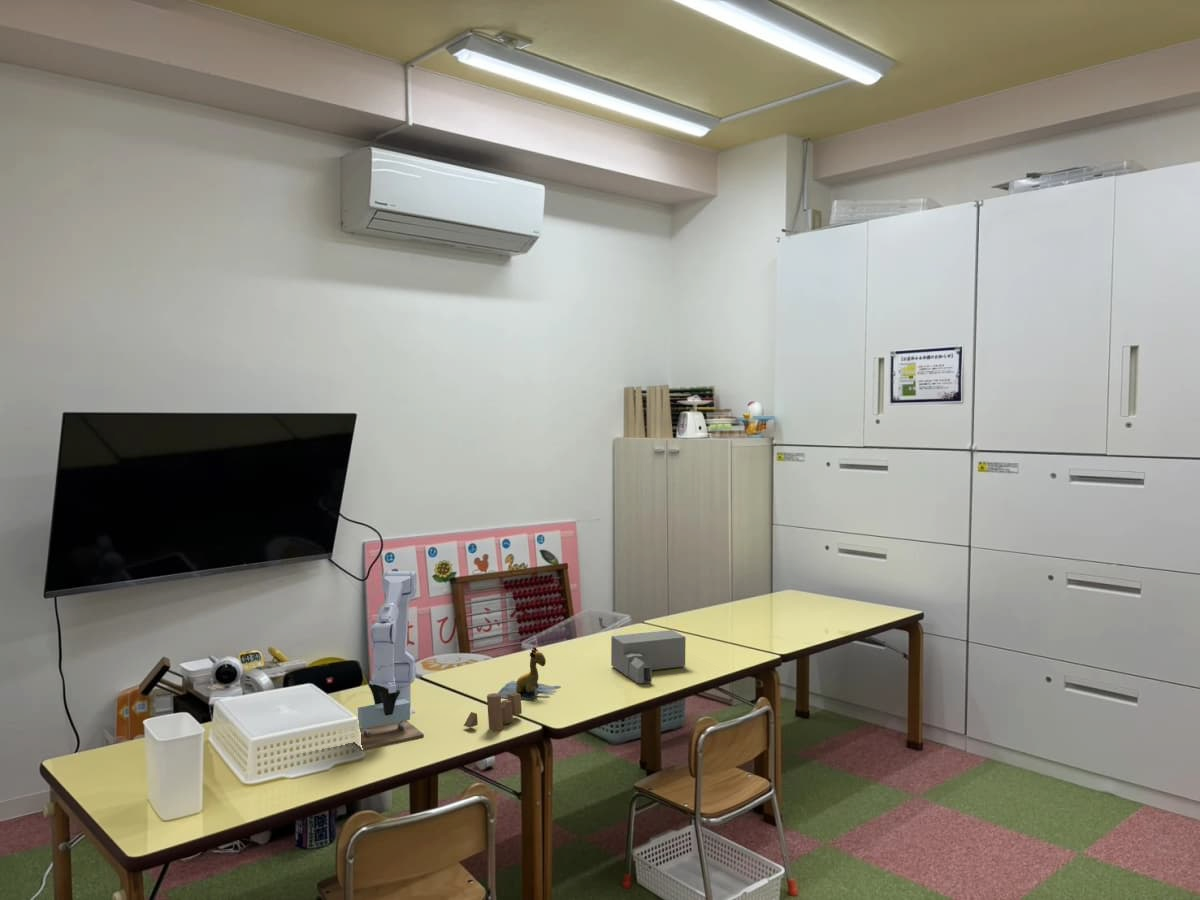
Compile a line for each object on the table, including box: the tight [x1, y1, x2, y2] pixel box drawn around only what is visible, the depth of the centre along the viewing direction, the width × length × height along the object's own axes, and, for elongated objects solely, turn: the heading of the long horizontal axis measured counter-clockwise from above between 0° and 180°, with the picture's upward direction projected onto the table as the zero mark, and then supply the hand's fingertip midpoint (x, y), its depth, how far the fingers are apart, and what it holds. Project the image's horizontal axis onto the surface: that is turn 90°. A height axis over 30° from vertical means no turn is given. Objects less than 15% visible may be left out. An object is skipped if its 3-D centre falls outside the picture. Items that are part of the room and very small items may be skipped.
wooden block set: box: [463, 692, 523, 732], centre depth 259 cm, size 18×9×10 cm, turn 133°
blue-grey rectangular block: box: [357, 699, 411, 729], centre depth 251 cm, size 14×4×5 cm, turn 123°
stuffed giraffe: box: [498, 646, 561, 702], centre depth 290 cm, size 16×18×16 cm
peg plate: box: [359, 720, 425, 751], centre depth 251 cm, size 15×18×4 cm
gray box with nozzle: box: [610, 629, 686, 684], centre depth 316 cm, size 25×23×11 cm
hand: (384, 710), depth 251 cm, fingers open, 7 cm apart
